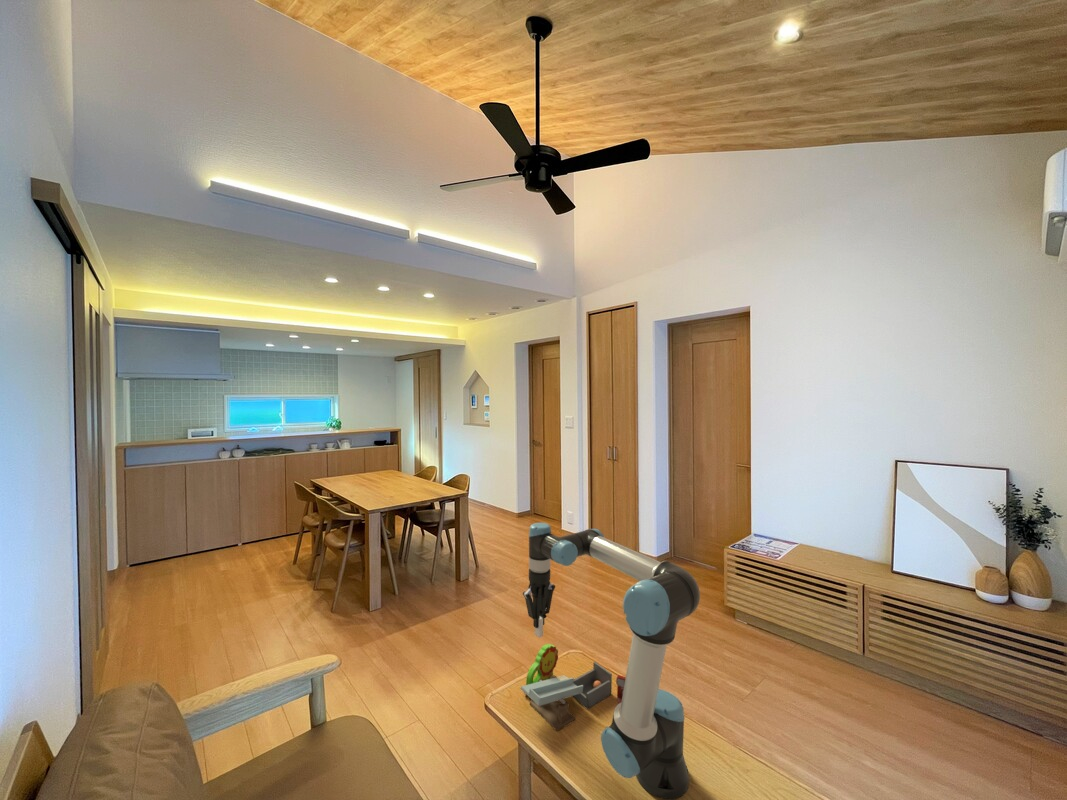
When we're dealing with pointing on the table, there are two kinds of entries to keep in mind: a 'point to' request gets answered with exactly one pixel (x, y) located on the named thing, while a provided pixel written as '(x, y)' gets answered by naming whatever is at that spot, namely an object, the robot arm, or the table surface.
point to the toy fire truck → (620, 687)
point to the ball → (596, 684)
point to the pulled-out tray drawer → (590, 693)
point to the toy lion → (543, 664)
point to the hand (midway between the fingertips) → (538, 635)
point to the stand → (554, 714)
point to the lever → (552, 690)
